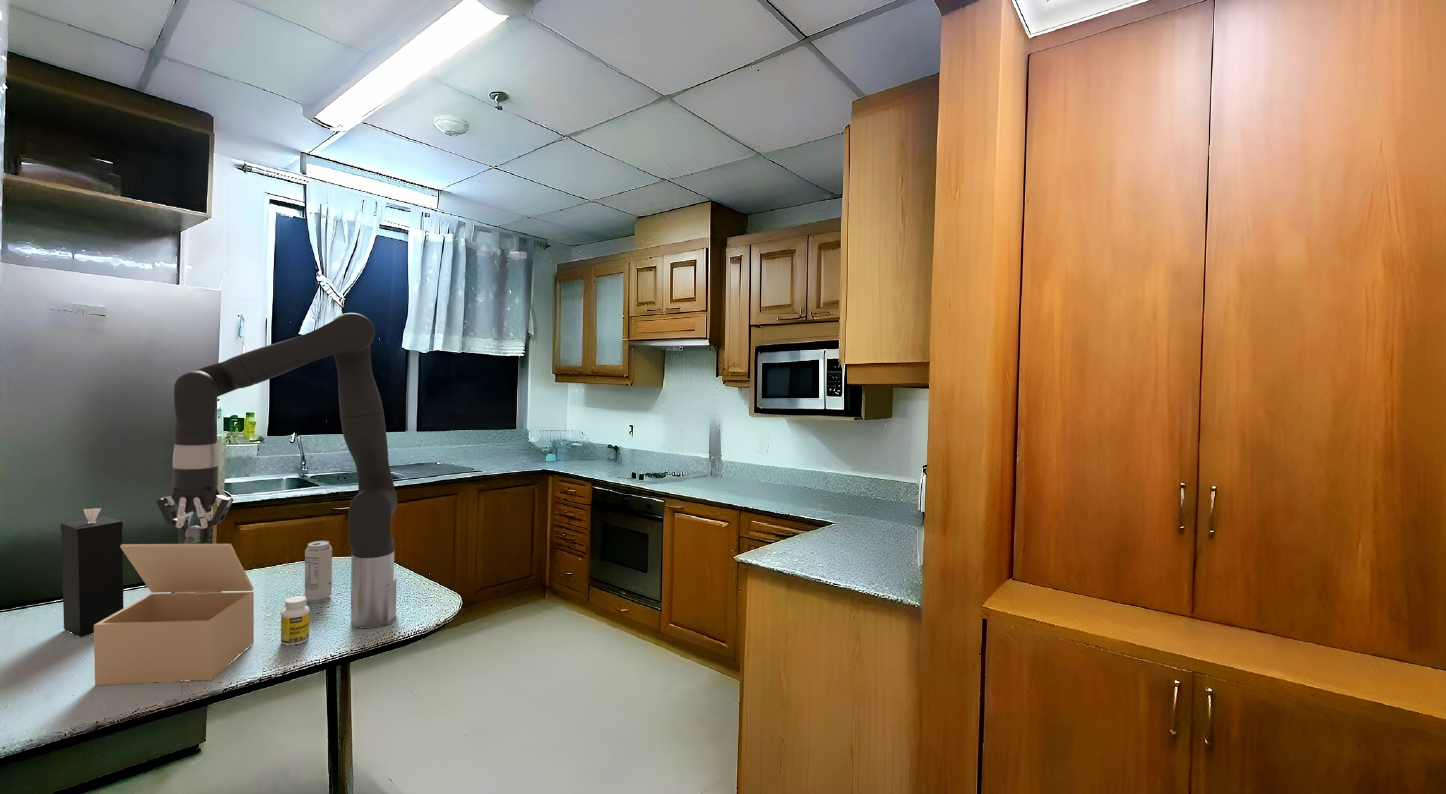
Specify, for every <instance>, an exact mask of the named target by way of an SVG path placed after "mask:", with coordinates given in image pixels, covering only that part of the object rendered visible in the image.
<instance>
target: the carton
mask: <svg viewBox="0 0 1446 794" xmlns="http://www.w3.org/2000/svg"><path fill="white" fill-rule="evenodd" d="M254 595H255V594H254V591H221V592H213V593H171V592H162V593H149V594H147V595H145V596H143V597H142V598H139V599H138V600H136V601H135V602H133V603H131V604H129V605H127V606H125V607H124V609H122V610H120V611H118V612H116V613H114V614H113V615H111V616H109V617H107V618H105V619H104V620H102V621H100V622H98V623H96V624H95V625H94V634H93V644H94V645H93V647H94V650H93V654H94V685H95V686H100V685H101V686H102V685H103V686H104V685H127V684H152V683H153V682H158V683H174V682H173V681H181V680H182V681H183V682H186V681H185V680H208V681H212V680H214V679H215V678H216V677H217V676H218V675H220V674H221V673H222V672H223V671H224V670H225V669H227V667H226V666H228V664H229V663H231V661H233V660H234V659H235V658H236V657H237V656H238V655H239V654H241V653H242V652H243V651H244V650H245V649H246V648H248V647H249V646H250V645H251V644H253V643H254V642H255V640H254V635H255V634H254V633H255V630H254V628H255V627H254V625H255V623H254V621H255V617H254V615H255V611H254V610H255V609H254V601H255V600H254V599H255V598H254V597H255V596H254ZM254 644H255V643H254ZM254 644H253V645H254ZM233 662H234V661H233ZM231 664H232V663H231ZM228 667H229V666H228ZM224 668H225V669H224ZM223 669H224V670H223ZM221 671H222V672H221ZM220 672H221V673H220ZM213 678H214V679H213ZM169 681H171V682H169Z"/></svg>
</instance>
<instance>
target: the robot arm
mask: <svg viewBox="0 0 1446 794" xmlns="http://www.w3.org/2000/svg"><path fill="white" fill-rule="evenodd" d="M375 331H376V330H375V326H374V324H373V322H371V320H370V319H369V318H367V317H366V316H365V315H363V314H360V313H356V312H346V313H343V314H340V315H338V316H337V317H335V318H334V319H333V320H332V321H329V322H328V323H326V324H325V325H322V326H321V327H318V328H316V329H314V330H312V331H309V332H307V333H304V334H301V335H298V336H296V337H293V338H289V339H286V340H282V341H279V342H275V343H272V344H268V345H266V346H262V347H259V348H255V349H252V350H250V351H247V352H244V353H240V354H239V355H235V356H233V357H231V358H228V359H226V360H223V361H221V362H217V363H213V364H211V365H207V366H204V367H201V368H196V369H194V370H191V371H188V372H185V373H183V374H182V375H179V376H178V378H177V379H176V380H175V382H174V385H173V401H174V403H173V404H174V413H175V425H174V426H175V427H174V446H173V453H172V463H171V464H172V487H173V490H172V492H171V494H170V495H169V496H163V497H161V498H158V499H157V500H156V504H157V506H158V508H159V511H160V513H161V515H162V517H163V519H164V521H165V523H166V525H168V526H174V527H176V528H177V542H178V543H180V544H183V543H184V542H185V540H186V539H187V538H186V537H185V531H186V530H187V529H188V528H189V527H191V525H190V523H191V518H192V515H193V514H194V513H196V514H197V518H198V519H199V521H200V525H201V526H200V527H202V528H201V536H200V544H211V542H212V541H213V539H214V538H213V535H214V533H213V531H214V526H216V525H219V524H221V523H223V522H224V521H225V519H226V516H227V514H228V513H229V510H230V508H231V506H232V504H233V502H234V498H233V497H231V496H229V497H226V496H224V495H220V492H219V490H218V485H219V450H218V449H219V448H218V424H217V420H216V419H217V418H216V413H217V412H216V410H217V398H218V397H221V396H223V395H227V394H228V393H231V392H233V391H235V390H239V389H244V388H248V387H251V386H254V385H257V384H260V383H263V382H265V381H268V380H271V379H273V378H276V377H278V376H281V375H283V374H286V373H288V372H290V371H293V370H295V369H298V368H300V367H302V366H305V365H307V364H310V363H312V362H316V361H317V360H321V359H325V358H328V357H334V360H335V364H336V369H337V376H338V377H337V378H338V379H337V380H338V405H339V416H340V424H341V430H342V435H343V439H344V442H345V444H346V446H347V447H346V448H347V449H348V451H349V453H350V455H351V457H352V459H353V462H354V465H355V469H356V473H357V485H358V493H357V494H356V495H355V496H354V497H353V498H352V499H351V501H350V504H349V506H348V507H349V508H348V518H347V520H348V522H347V523H348V524H347V525H348V542H349V546H350V549H351V563H350V566H351V567H350V568H351V571H350V575H351V576H350V625H351V626H352V625H353V626H352V627H354V626H355V627H354V628H357V627H360V628H359V629H370V628H369V627H373V628H376V627H378V628H379V627H381V625H382V626H388V625H389V624H390V623H391V622H392V621H393V619H394V618H395V617H396V616H397V578H395V540H394V538H393V536H392V516H393V515H394V514H395V512H396V510H397V508H398V496H397V492H396V489H395V485H394V479H393V476H392V473H391V468H390V463H389V449H388V437H387V427H386V420H385V414H384V413H385V412H384V408H383V403H382V398H381V395H380V392H379V389H378V386H377V382H376V380H375V377H374V373H373V369H372V367H373V366H372V356H371V355H372V354H371V344H372V343H373V342H374V339H375V334H376V332H375ZM215 503H216V507H217V509H216V510H215V513H214V507H213V506H214V504H215ZM175 504H176V505H177V507H178V509H176V507H175V506H174V505H175ZM361 627H362V628H361Z"/></svg>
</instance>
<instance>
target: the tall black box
mask: <svg viewBox="0 0 1446 794" xmlns="http://www.w3.org/2000/svg"><path fill="white" fill-rule="evenodd" d="M82 510H83V513H84V515H85V517H86V519H80V520H79V519H78V520H75V521H73V520H72V521H68V522H61V523H60V531H61V557H62V559H61V561H62V563H61V564H62V565H61V566H62V570H61V571H62V604H63V605H62V608H63V630H64V629H65V630H67V631H69V632H72V633H73V634H74V636H76V635H77V636H76V637H78V636H79V637H78V638H83V636H84V637H87V636H86V635H88V636H90V635H89V634H91V635H93V634H92V633H94V625H95V624H96V623H98V622H100V621H102V620H104V619H105V618H107V617H109V616H111V615H113V614H114V613H116V612H118V611H120V610H122V609H124V608H125V607H124V560H123V558H124V557H123V556H124V555H123V554H124V552H123V550H122V549H121V547H120V546H121V545H122V544H123V521H122V520H118V519H115V518H113V517H109V516H99V514H100V512H101V511H102V507H101V508H95V507H94V508H83V509H82ZM98 516H99V517H98ZM65 630H64V631H65ZM67 631H66V632H67ZM69 632H68V633H69ZM73 634H72V635H73Z"/></svg>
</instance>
